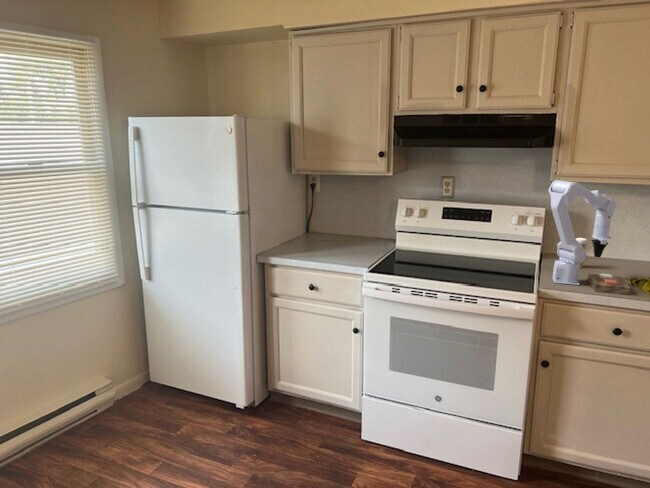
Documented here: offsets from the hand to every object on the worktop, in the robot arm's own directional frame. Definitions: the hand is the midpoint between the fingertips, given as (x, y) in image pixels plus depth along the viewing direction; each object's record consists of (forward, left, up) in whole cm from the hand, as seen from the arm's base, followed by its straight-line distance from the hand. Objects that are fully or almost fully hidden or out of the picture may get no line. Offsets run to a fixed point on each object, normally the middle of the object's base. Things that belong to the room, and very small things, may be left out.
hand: (597, 256), depth 208 cm
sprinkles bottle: (-4, +16, -10) cm, 19 cm away
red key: (+3, -16, -8) cm, 18 cm away
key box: (+3, -13, -9) cm, 16 cm away
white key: (+3, -8, -8) cm, 12 cm away
